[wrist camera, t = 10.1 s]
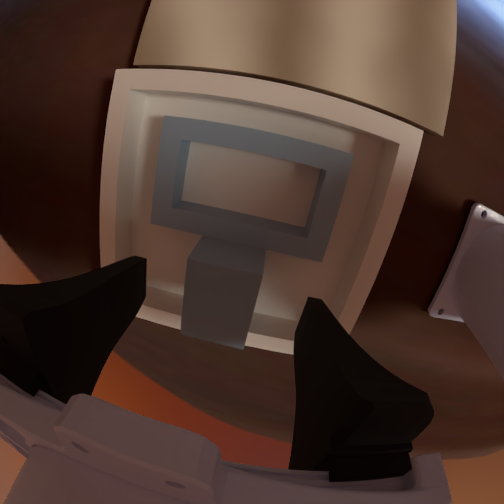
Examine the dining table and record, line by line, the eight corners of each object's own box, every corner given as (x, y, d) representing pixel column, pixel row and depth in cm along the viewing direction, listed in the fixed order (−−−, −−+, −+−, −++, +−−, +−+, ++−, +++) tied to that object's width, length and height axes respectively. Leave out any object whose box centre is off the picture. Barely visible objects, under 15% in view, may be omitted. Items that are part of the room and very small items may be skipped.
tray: (401, 130, 12) (423, 130, 10) (330, 334, 17) (335, 360, 15) (139, 76, 12) (116, 69, 10) (122, 285, 17) (104, 305, 15)
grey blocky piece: (296, 311, 16) (299, 359, 13) (157, 278, 16) (128, 318, 13) (346, 152, 12) (372, 160, 9) (175, 116, 12) (138, 113, 9)
